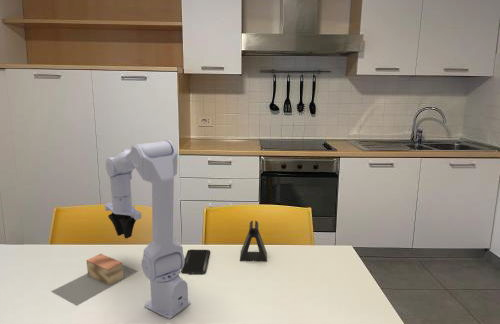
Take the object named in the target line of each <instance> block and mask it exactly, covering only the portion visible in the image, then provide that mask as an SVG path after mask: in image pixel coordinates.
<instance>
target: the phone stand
mask: <svg viewBox="0 0 500 324" xmlns="http://www.w3.org/2000/svg"><path fill="white" fill-rule="evenodd" d="M248 226H249V229H248V232H247V235H246V237H245V239H244V241H243V245H242V247H241V250H240V255H239V261H240V262H263V263H264V262H266V263H267V262H268V254H267V253H268V252H267V249H266V246H265V244H264V242H263V238H262V235H261V233H260V229H259V222H258V221H257V220H255V222H254V220H251V221H250V222H249V225H248ZM253 238H255V241H256V244H257V248H258V251H249V249H250V245H251V242H252V239H253Z"/></svg>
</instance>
